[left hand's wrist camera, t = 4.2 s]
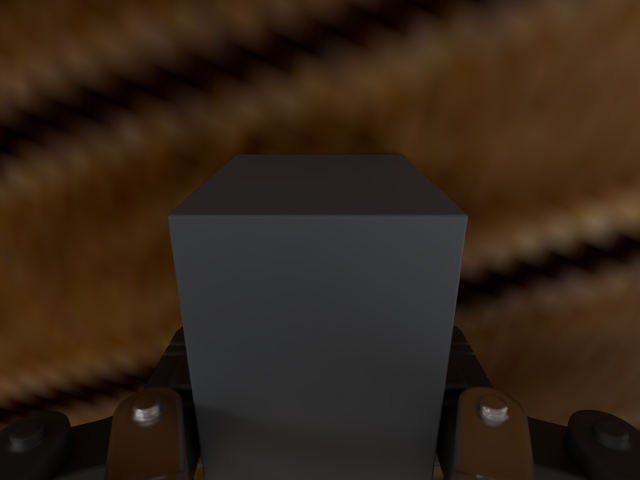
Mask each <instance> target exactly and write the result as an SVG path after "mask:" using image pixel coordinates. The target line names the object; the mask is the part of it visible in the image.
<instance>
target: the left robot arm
mask: <svg viewBox="0 0 640 480" xmlns="http://www.w3.org/2000/svg"><path fill="white" fill-rule="evenodd" d="M434 466H441V470H442V473H443V476H444V479H445V480H640V431H638V430H637V429H636V428H634V427H633V426H632V425H630V424H629V423H627V422H626V421H624V420H622V419H620V418H618V417H616V416H613V415H611V414H608V413H605V412H601V411H596V410H581V411H578V412H575V413H574V414H572V416H571V417H570V419H569V422H568V426H567V427H566V426H562V425H558V424H554V423H550V422H545V421H541V420H537V419H534V418H530V417H528V416H527V415H526V412H525V410H524V408H523V407H522V406H521V404H520V403H519V402H518V401H516V400H515V399H514V398H513V397H511V396H510V395H508V394H506V393H504V392H502V391H499V390H497V389H493V387H492V385H491V383H490V381H489V380H488V378H487V376H486V374H485V373H484V371H483V369H482V367H481V365H480V364H479V362H478V360H477V358H476V356H475V355H473V351H472V349H471V347H470V346H469V345H468V342H467V340H466V339H465V337H464V335H463V333H462V331H461V330H459V329H458V328H457V327H456V326H454V325H453V330H452V338H451V345H450V353H449V360H448V367H447V375H446V382H445V390H444V397H443V404H442V412H441V419H440V426H439V434H438V441H437V449H436V456H435V463H434ZM197 467H203V464H202V457H201V450H200V443H199V436H198V429H197V422H196V415H195V408H194V401H193V393H192V386H191V379H190V372H189V365H188V358H187V351H186V344H185V337H184V330H183V327H181V328H180V329H179V330H178V331H176V333H175V335H174V337H173V338H172V340H171V342H170V346H168V347H167V349H166V351H165V352H164V356H162V358H161V359H160V361H159V363H158V365H157V366H156V368H155V370H154V372H153V374H152V375H151V377H150V379H149V381H148V382H147V384H146V386H145V388H144V389H143V390H141V391H138V392H136V393H134V394H132V395H130V396H129V397H127V398H126V399H125V400H124V401H122V402H121V403H120V404H119V406H118V407H117V408H116V410H115V412H114V415H113V416H111V417H108V418H106V419H102V420H99V421H95V422H90V423H86V424H82V425H78V426H73V427H71V425H70V422H69V419H68V417H67V416H66V415H64V414H63V413H60V412H56V411H45V412H39V413H35V414H32V415H28V416H26V417H23V418H21V419H19V420H17V421H15V422H13V423H12V424H10V425H9V426H7V427H6V428H4V429H3V430H2V431H0V480H194V474H195V471H196V468H197Z"/></svg>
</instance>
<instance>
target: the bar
mask: <svg viewBox="0 0 640 480" xmlns="http://www.w3.org/2000/svg"><path fill="white" fill-rule="evenodd" d="M467 220H468V216H467V214H466V213H464V212H463V211H462V210H461V209H460V208H459V207H458V206H457V205H456V204H455V203H454V202H453V201H451V200H450V199H449V198H448V197H447V196H446V195H445V194H444V193H443V192H442V191H441V190H440V189H439V188H437V187H436V186H435V185H434V184H433V183H432V182H431V181H430V180H429V179H428V178H427V177H426V176H424V175H423V174H422V173H421V172H420V171H419V170H418V169H417V168H416V167H415V166H414V165H413V164H412V163H410V162H409V161H408V160H407V159H406V158H405V157H404V156H403V155H402V154H236V155H235V156H234V157H233V158H232V159H231V160H229V161H228V162H227V163H226V164H225V165H224V166H223V167H222V168H220V169H219V170H218V171H217V172H216V173H215V174H214V175H213V176H212V177H210V178H209V179H208V180H207V181H206V182H205V183H204V184H203V185H201V186H200V187H199V188H198V189H197V190H196V191H195V192H194V193H192V194H191V195H190V196H189V197H188V198H187V199H186V200H185V201H184V202H182V203H181V204H180V205H179V206H178V207H177V208H176V209H175V210H173V211H172V212H171V213H170V214H169V215H168V224H169V231H170V238H171V245H172V252H173V259H174V266H175V273H176V280H177V287H178V294H179V301H180V309H181V316H182V323H183V330H184V337H185V344H186V351H187V358H188V365H189V372H190V379H191V386H192V393H193V401H194V408H195V415H196V422H197V429H198V436H199V443H200V450H201V457H202V464H203V471H204V478H205V480H432V478H433V471H434V463H435V456H436V449H437V441H438V434H439V426H440V419H441V412H442V404H443V397H444V390H445V382H446V375H447V367H448V360H449V353H450V345H451V338H452V330H453V323H454V316H455V308H456V301H457V293H458V286H459V279H460V271H461V264H462V257H463V249H464V242H465V234H466V227H467Z"/></svg>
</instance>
